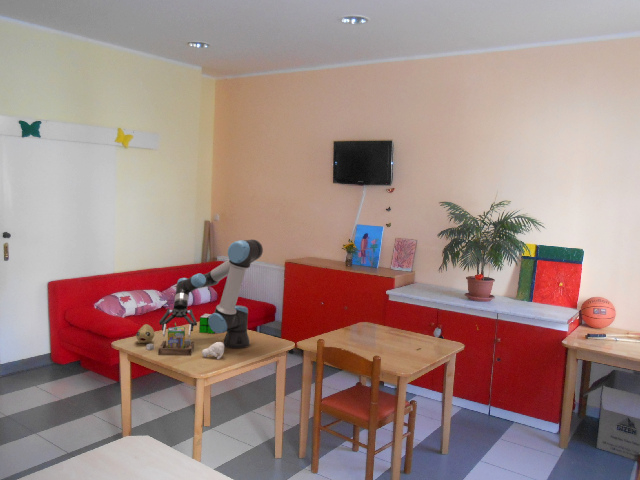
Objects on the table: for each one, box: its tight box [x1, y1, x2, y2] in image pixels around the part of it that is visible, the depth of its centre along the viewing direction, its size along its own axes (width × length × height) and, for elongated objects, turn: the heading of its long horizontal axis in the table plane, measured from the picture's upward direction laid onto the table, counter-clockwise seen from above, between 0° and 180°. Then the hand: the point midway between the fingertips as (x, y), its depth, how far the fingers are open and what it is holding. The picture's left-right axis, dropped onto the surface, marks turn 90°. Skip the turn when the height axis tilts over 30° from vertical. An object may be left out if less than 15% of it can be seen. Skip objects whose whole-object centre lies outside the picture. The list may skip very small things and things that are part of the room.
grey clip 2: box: [185, 338, 192, 346], centre depth 306 cm, size 3×3×2 cm
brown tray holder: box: [157, 340, 195, 356], centre depth 292 cm, size 15×17×3 cm
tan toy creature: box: [135, 323, 155, 344], centre depth 302 cm, size 10×12×11 cm
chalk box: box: [167, 322, 186, 348], centre depth 291 cm, size 9×9×15 cm
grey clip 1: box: [145, 343, 155, 351], centre depth 292 cm, size 3×3×2 cm
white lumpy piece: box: [201, 341, 225, 360], centre depth 283 cm, size 6×8×12 cm
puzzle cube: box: [198, 313, 216, 335], centre depth 335 cm, size 10×10×10 cm
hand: (176, 335), depth 289 cm, fingers open, 13 cm apart
